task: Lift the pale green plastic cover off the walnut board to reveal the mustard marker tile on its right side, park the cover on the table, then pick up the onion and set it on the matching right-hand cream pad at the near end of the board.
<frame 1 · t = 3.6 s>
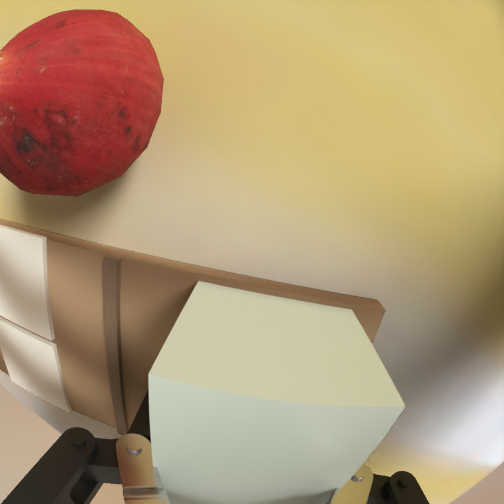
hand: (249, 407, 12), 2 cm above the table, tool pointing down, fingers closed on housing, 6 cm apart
board: (124, 353, 13), on the table
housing: (250, 397, 12), point 1 cm above the table, touching board, gripper
onion: (124, 117, 10), on the table
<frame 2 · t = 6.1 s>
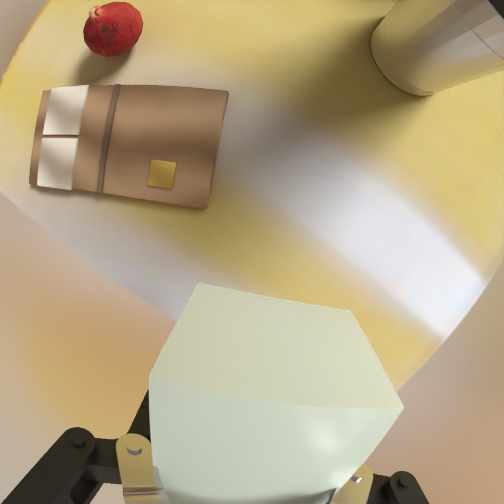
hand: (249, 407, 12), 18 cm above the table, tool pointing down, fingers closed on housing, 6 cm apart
board: (112, 138, 25), on the table
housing: (249, 398, 12), point 17 cm above the table, touching gripper
onion: (128, 42, 22), on the table
when the fingers open (2 cm above the table, at t = 8.4 s): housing drops 1 cm, on the table.
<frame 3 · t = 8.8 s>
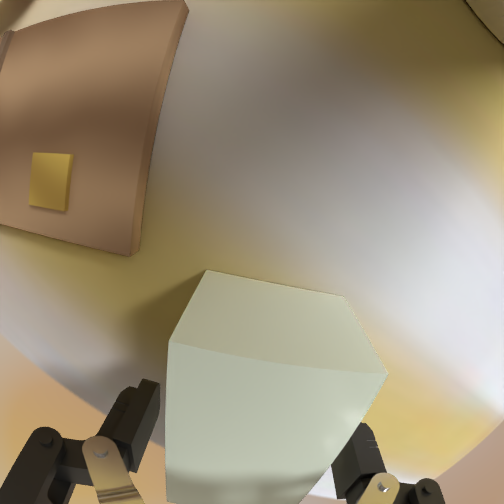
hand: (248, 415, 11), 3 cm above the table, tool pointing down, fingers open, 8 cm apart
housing: (252, 379, 14), on the table
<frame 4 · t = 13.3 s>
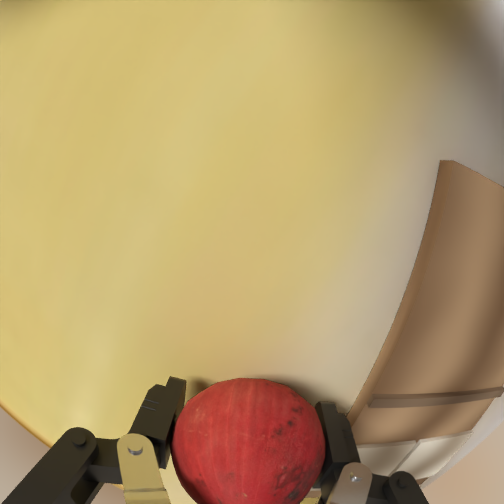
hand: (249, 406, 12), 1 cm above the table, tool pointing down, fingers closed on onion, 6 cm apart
board: (441, 385, 13), on the table
onion: (251, 385, 13), on the table, touching gripper
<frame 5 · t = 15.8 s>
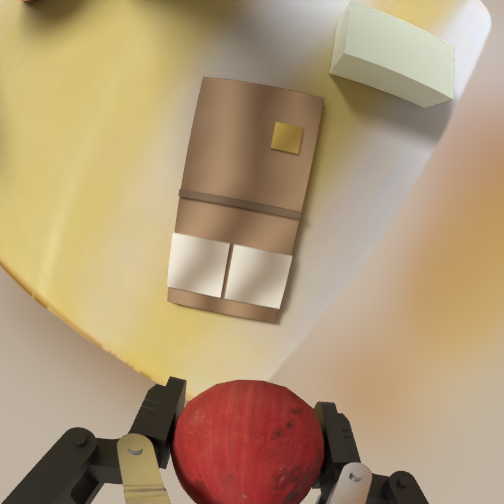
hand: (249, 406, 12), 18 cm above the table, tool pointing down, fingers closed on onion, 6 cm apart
board: (240, 201, 27), on the table
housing: (383, 65, 22), on the table
onion: (251, 387, 13), point 16 cm above the table, touching gripper
when the fingers open (3 cm above the table, at t = 18.6 s): onion stays where it is, resting on board.
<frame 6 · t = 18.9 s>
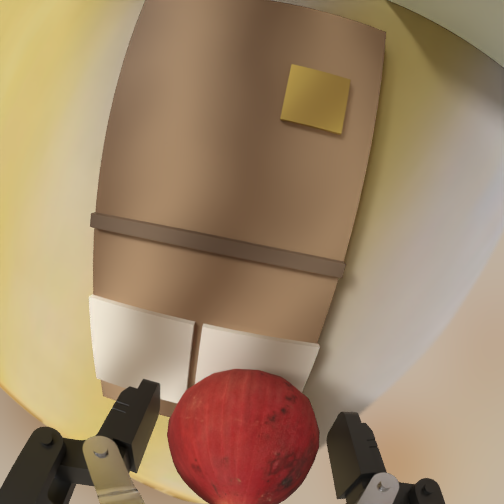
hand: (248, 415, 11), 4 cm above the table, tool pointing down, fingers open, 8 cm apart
board: (215, 236, 13), on the table
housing: (462, 6, 8), on the table
onion: (248, 379, 14), point 1 cm above the table, touching board
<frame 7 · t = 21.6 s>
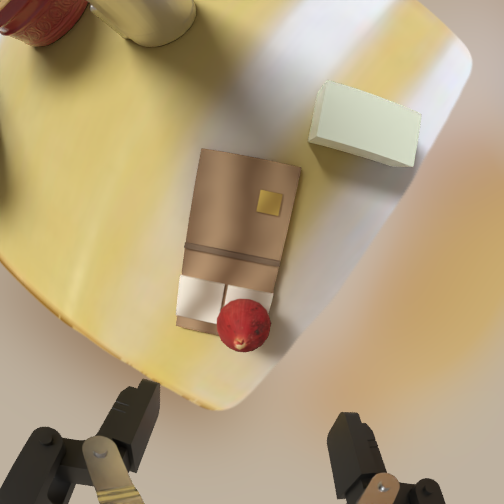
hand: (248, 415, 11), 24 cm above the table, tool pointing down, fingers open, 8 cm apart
board: (233, 251, 34), on the table
canister: (59, 14, 25), on the table
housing: (356, 129, 30), on the table
onion: (245, 309, 35), point 1 cm above the table, touching board
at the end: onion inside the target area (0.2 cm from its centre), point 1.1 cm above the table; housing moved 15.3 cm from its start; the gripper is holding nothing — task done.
